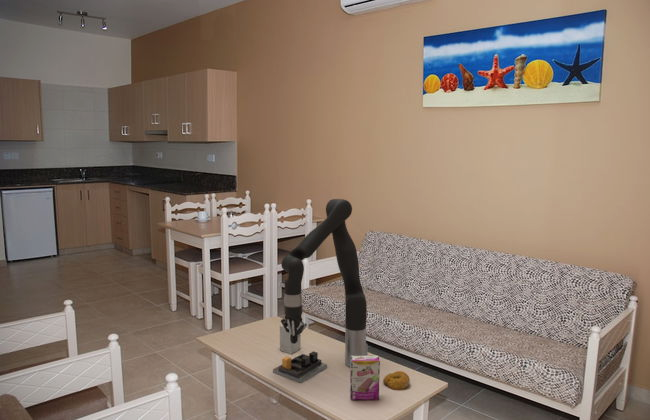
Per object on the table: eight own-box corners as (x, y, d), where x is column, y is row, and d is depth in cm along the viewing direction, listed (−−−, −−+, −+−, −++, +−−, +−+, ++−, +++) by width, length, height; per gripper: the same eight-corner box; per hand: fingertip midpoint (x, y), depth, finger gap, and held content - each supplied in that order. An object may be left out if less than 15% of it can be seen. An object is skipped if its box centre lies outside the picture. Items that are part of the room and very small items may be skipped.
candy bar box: (350, 401, 191) (351, 360, 189) (349, 394, 196) (349, 355, 194) (379, 400, 191) (380, 360, 189) (377, 393, 196) (378, 354, 194)
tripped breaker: (282, 369, 214) (282, 358, 213) (286, 367, 216) (286, 356, 215) (286, 371, 212) (286, 360, 212) (291, 368, 215) (290, 357, 214)
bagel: (387, 376, 211) (387, 366, 210) (412, 382, 206) (412, 371, 205) (379, 387, 202) (379, 376, 201) (405, 393, 197) (405, 382, 196)
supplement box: (291, 354, 233) (290, 328, 231) (279, 350, 237) (279, 325, 236) (301, 349, 239) (301, 324, 237) (289, 345, 243) (289, 320, 242)
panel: (272, 372, 215) (272, 358, 214) (299, 358, 229) (299, 344, 228) (301, 383, 205) (301, 367, 204) (327, 367, 219) (327, 353, 218)
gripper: (311, 303, 206) (311, 343, 209) (287, 298, 214) (287, 336, 216) (299, 308, 200) (300, 349, 203) (275, 302, 208) (276, 342, 210)
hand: (294, 342), depth 210 cm, fingers closed
